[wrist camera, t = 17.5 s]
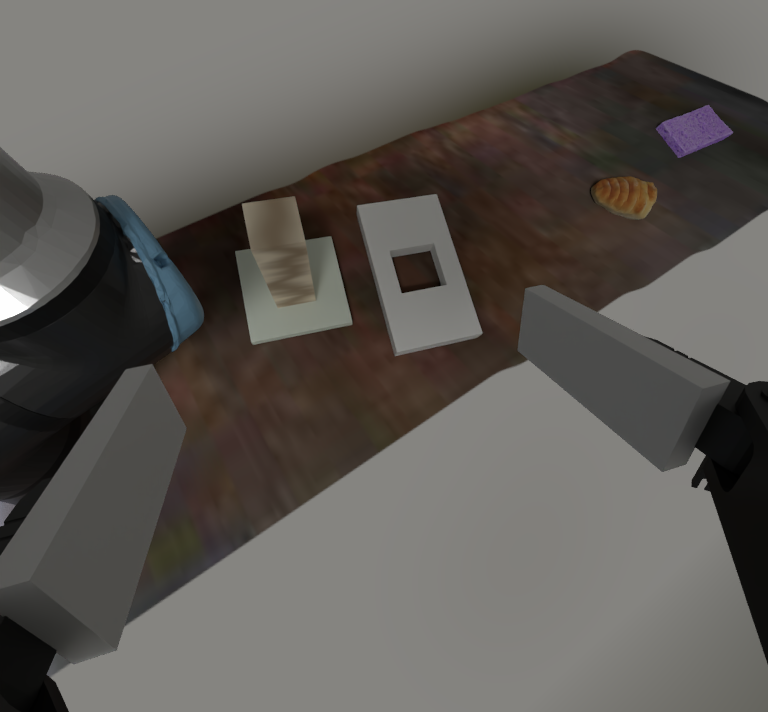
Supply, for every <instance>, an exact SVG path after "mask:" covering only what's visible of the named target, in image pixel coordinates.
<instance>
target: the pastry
mask: <svg viewBox="0 0 768 712" xmlns="http://www.w3.org/2000/svg"><path fill="white" fill-rule="evenodd" d="M591 194H592V197H593V199H594V202H595V203H596V204H597V205H600V206H602V207H604V208H605V209H606V210H608V211H609V212H610V213H612V214H617V215H619V216H622V217H625V218H629V219H635V220H638V219H644V218H645V217H646V216H647V214H648V213H649V211H650V210H651V208H652V206H653V204H654V203H655V201H656V197H657V189H656V188H655V187H654V184H653V183H650V182H645V181H641V180H639V179H637V178H634V177H630V176H629V177H617V178H607V179H603V180H600V181H599V182H598V183H597V184H595V185H594V186H593V187H592V188H591Z"/></svg>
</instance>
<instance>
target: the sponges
mask: <svg viewBox="0 0 768 712" xmlns="http://www.w3.org/2000/svg"><path fill="white" fill-rule="evenodd" d="M656 130H657V131H658V132H659V133H660V135H661V136H662V137H663V139H664V140H665V141H666V142H667V144H668V145H669V146H670V147H671V149H672V150H673V151H674V152H675V154H676V155H677V156H678V157H679V158H680V157H682V156H685V155H687V154H690V153H692V152H694V151H697V150H699V149H701V148H704V147H707V146H708V145H711V144H714V143H716V142H719V141H721V140H724V139H725V138H726V137H728V136H730V135H731V134H732V133H733V132H732V130H731V129H730V128H728V126H727V125H726V124H725V123H724V122H723V121H721V120H720V119H719V117H718V116H717V114H715V112H714V111H713V110H712V108H711V107H710V106H709V105H707V106H704V107H702V108H699V109H697V110H694V111H692V112H689V113H686V114H684V115H683V116H678V117H676V118H673V119H670V120H667V121H665V122H662V123H661V124H660V125H659V126H658V127H657V128H656Z"/></svg>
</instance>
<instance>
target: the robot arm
mask: <svg viewBox="0 0 768 712" xmlns="http://www.w3.org/2000/svg"><path fill="white" fill-rule="evenodd" d="M203 320H204V311H203V308H202V305H201V303H200V302H199V300H198V298H197V296H196V295H195V293H194V292H193V290H192V289H191V287H190V286H189V284H188V283H187V281H186V280H185V278H184V277H183V275H182V274H181V273H180V271H179V270H178V268H177V267H176V266H175V264H174V263H173V262H172V261H171V260H170V259H169V258H168V256H167V254H166V253H165V251H164V250H163V249H162V247H161V246H160V244H159V242H158V241H157V240H156V238H155V237H154V236H153V235H152V233H151V232H150V231H149V229H148V228H147V227H146V226H145V224H144V223H143V222H142V221H141V220H140V218H139V217H138V216H137V215H136V214H135V212H134V211H133V210H132V209H131V208H130V207H129V206H128V204H126V202H125V201H123V200H122V199H121V198H119V197H118V196H114V195H110V196H106V197H98V198H96V199H95V200H93V199H92V198H91V197H90V196H89V195H88V194H87V193H86V192H85V191H84V190H83V189H82V188H81V187H79V186H78V185H76V184H75V183H73V182H71V181H70V180H68V179H65V178H62V177H59V176H56V175H51V174H45V173H36V172H27V171H26V170H25V169H24V168H23V167H21V166H20V165H19V164H18V163H17V162H16V161H15V160H14V159H13V158H12V157H10V156H9V155H8V154H7V153H6V152H5V151H4V150H3V149H2V148H0V501H1V502H6V503H10V504H14V505H16V506H15V507H14V509H13V510H12V511H11V513H10V514H9V516H8V517H7V518H6V520H5V521H4V526H1V527H0V712H69V711H68V709H67V707H66V704H65V702H64V700H63V698H62V696H61V693H60V691H59V689H58V687H57V685H56V683H55V682H54V681H53V680H52V679H51V678H50V677H49V676H47V675H46V674H47V672H48V670H49V667H50V665H51V663H52V661H53V658H54V656H55V654H56V653H58V654H59V655H61V656H62V657H64V658H65V659H67V660H68V661H70V662H71V663H72V664H76V663H79V662H82V661H85V660H88V659H91V658H95V657H98V656H100V655H104V654H107V653H110V652H113V651H116V650H117V647H118V644H119V641H120V638H121V635H122V632H123V628H124V625H125V622H126V619H127V616H128V613H129V609H130V606H131V603H132V600H133V597H134V593H135V590H136V587H137V584H138V581H139V578H140V574H141V571H142V568H143V565H144V562H145V559H146V555H147V552H148V549H149V546H150V543H151V540H152V536H153V533H154V530H155V527H156V524H157V521H158V517H159V514H160V511H161V508H162V505H163V502H164V498H165V495H166V492H167V489H168V486H169V483H170V479H171V476H172V473H173V470H174V467H175V464H176V460H177V457H178V454H179V451H180V448H181V444H182V441H183V438H184V435H185V432H186V429H187V428H186V426H185V424H184V422H183V421H182V419H181V417H180V415H179V413H178V411H177V409H176V407H175V406H174V404H173V402H172V400H171V398H170V396H169V394H168V392H167V391H166V389H165V387H164V385H163V383H162V381H161V379H160V377H159V376H158V374H157V372H156V370H155V368H154V366H153V364H155V363H156V362H158V361H159V360H161V359H162V358H163V357H165V356H166V355H168V354H169V353H171V352H174V351H175V350H176V349H177V348H178V347H179V344H181V343H182V342H183V341H184V340H185V339H187V338H188V337H189V336H190V335H192V334H193V333H194V332H195V331H197V330H198V329H199V328H200V326H201V325H202V323H203ZM518 351H519V352H520V353H521V354H522V355H524V356H525V357H526V358H527V359H528V360H529V361H531V362H532V363H533V364H534V365H535V366H537V367H538V368H539V369H540V370H541V371H543V372H544V373H545V374H546V375H547V376H549V377H550V378H551V379H552V380H553V381H554V382H556V383H557V384H558V385H559V386H560V387H562V388H563V389H564V390H565V391H567V392H568V393H569V394H570V395H571V396H572V397H574V398H575V399H576V400H577V401H578V402H579V403H581V404H582V405H583V406H584V407H585V408H587V409H588V410H589V411H590V412H591V413H593V414H594V415H595V416H596V417H597V418H599V419H600V420H601V421H602V422H603V423H604V424H606V425H607V426H608V427H609V428H610V429H612V430H613V431H614V432H615V433H617V434H618V435H619V436H620V437H621V438H622V439H624V440H625V441H626V442H627V443H628V444H630V445H631V446H632V447H633V448H634V449H635V450H637V451H638V452H639V453H640V454H641V455H643V456H644V457H645V458H646V459H648V460H649V461H650V462H651V463H652V464H653V465H655V466H656V467H657V468H658V469H659V470H660V471H662V472H664V471H667V470H670V469H673V468H676V467H679V466H682V465H685V464H686V463H687V461H688V459H689V458H690V456H691V454H692V452H693V450H694V448H695V447H696V448H697V449H699V450H700V451H701V452H703V453H704V454H705V455H706V456H705V458H704V460H703V461H702V463H701V465H700V467H699V469H698V470H697V472H696V474H695V476H694V477H693V479H692V487H694V488H697V487H698V485H699V483H700V482H701V480H702V479H707V482H708V483H707V485H706V487H705V488H704V490H707V491H710V492H711V495H712V498H713V501H714V504H715V507H716V509H717V513H718V516H719V519H720V521H721V525H722V528H723V531H724V534H725V537H726V540H727V543H728V546H729V549H730V552H731V555H732V558H733V561H734V564H735V567H736V570H737V573H738V576H739V579H740V582H741V585H742V588H743V591H744V594H745V597H746V600H747V603H748V606H749V609H750V612H751V615H752V618H753V621H754V624H755V627H756V630H757V633H758V636H759V639H760V642H761V645H762V648H763V651H764V654H765V657H766V660H767V663H768V382H764V381H758V382H752V383H749V384H748V385H745V384H743V383H740V382H738V381H737V380H735V379H733V378H731V377H729V376H727V375H724V374H723V373H721V372H719V371H717V370H715V369H713V368H711V367H709V366H707V365H705V364H703V363H701V362H699V361H697V360H695V359H693V358H688V356H687V355H685V354H683V353H681V352H679V351H674V349H673V348H671V347H669V346H667V345H665V344H663V343H661V342H660V341H658V340H654V339H651V338H648V337H645V336H642V335H640V334H638V333H636V332H634V331H632V330H630V329H628V328H627V327H625V326H623V325H621V324H619V323H617V322H615V321H613V320H611V319H609V318H607V317H605V316H603V315H601V314H599V313H597V312H595V311H593V310H592V309H590V308H588V307H586V306H584V305H582V304H580V303H578V302H576V301H574V300H572V299H570V298H568V297H566V296H564V295H562V294H560V293H558V292H556V291H555V290H553V289H551V288H549V287H547V286H545V285H540V286H535V287H530V288H525V296H524V303H523V311H522V319H521V327H520V335H519V343H518Z"/></svg>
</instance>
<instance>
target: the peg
mask: <svg viewBox="0 0 768 712" xmlns="http://www.w3.org/2000/svg"><path fill="white" fill-rule="evenodd" d="M242 208H243V213H244V218H245V223H246V228H247V233H248V238H249V243H250V248H251V252H252V254H253V256H254V258H255V260H256V262H257V265H258V267H259V269H260V271H261V273H262V275H263V277H264V280H265V282H266V284H267V286H268V288H269V290H270V293H271V295H272V297H273V299H274V301H275V303H276V305H277V308H281V307H286V306H291V305H296V304H301V303H307V302H312V301H316V298H315V292H314V287H313V281H312V275H311V270H310V264H309V258H308V253H307V247H306V241H305V237H304V233H303V229H302V224H301V220H300V216H299V212H298V208H297V203H296V199H295V196H293V197H286V198H279V199H271V200H264V201H257V202H250V203H243V204H242Z"/></svg>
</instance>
